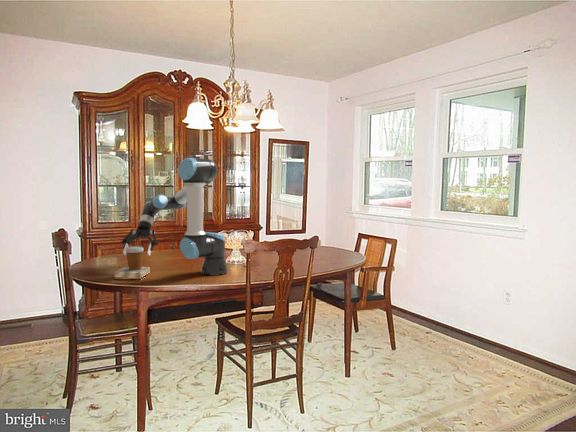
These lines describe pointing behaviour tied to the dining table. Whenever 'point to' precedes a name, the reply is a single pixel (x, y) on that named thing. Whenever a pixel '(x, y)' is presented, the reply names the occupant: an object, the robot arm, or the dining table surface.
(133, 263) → the disposable coffee cup
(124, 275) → the birch base block
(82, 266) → the dining table surface
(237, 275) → the dining table surface
